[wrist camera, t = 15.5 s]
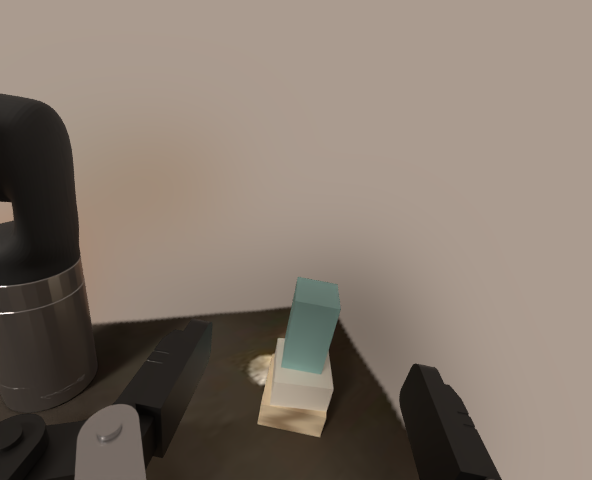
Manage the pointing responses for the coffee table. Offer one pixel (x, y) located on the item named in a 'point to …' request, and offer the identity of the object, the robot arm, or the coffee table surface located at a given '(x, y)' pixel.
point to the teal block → (311, 325)
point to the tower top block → (300, 385)
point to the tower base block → (289, 413)
